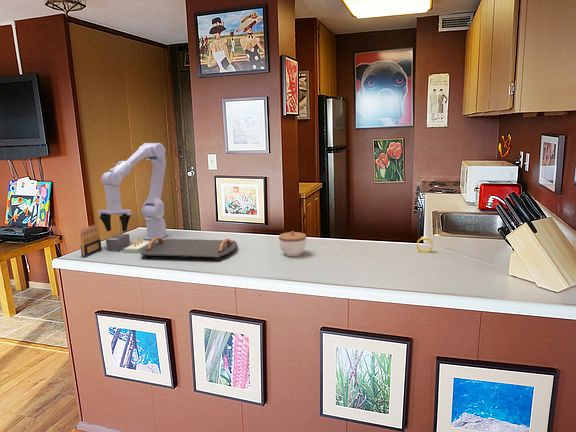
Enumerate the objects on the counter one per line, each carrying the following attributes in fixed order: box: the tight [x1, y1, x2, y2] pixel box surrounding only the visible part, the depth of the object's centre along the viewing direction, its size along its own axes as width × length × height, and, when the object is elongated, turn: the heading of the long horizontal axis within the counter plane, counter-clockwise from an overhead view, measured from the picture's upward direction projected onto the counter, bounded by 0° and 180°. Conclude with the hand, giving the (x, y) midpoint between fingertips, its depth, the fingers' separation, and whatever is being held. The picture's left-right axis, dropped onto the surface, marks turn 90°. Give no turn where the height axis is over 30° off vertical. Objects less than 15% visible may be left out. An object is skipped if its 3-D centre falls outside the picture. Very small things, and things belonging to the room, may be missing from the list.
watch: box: [416, 236, 434, 253], centre depth 178 cm, size 6×3×6 cm, turn 71°
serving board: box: [140, 237, 238, 262], centre depth 188 cm, size 39×23×6 cm, turn 78°
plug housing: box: [105, 233, 131, 252], centre depth 198 cm, size 10×5×5 cm, turn 168°
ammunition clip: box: [80, 223, 103, 258], centre depth 190 cm, size 11×2×12 cm, turn 166°
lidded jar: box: [278, 230, 307, 257], centre depth 180 cm, size 11×11×9 cm
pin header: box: [122, 236, 151, 254], centre depth 196 cm, size 13×7×4 cm, turn 168°
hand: (116, 231), depth 197 cm, fingers open, 7 cm apart
